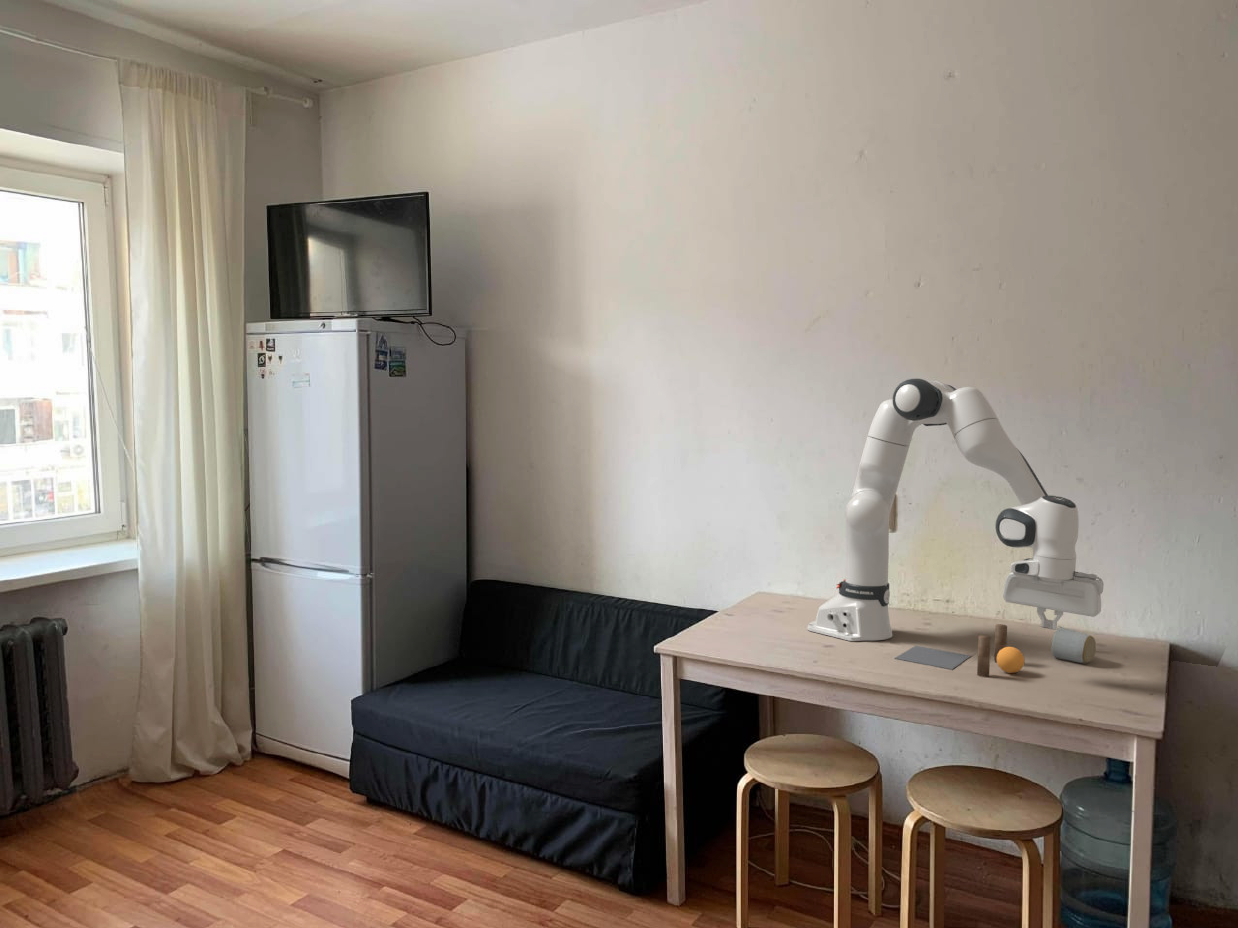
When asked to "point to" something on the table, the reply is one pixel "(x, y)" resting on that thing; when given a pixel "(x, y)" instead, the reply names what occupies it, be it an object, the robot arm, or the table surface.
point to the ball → (1010, 659)
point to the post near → (983, 656)
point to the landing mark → (933, 657)
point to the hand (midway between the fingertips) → (1048, 628)
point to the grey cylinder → (1073, 645)
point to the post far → (1000, 639)
